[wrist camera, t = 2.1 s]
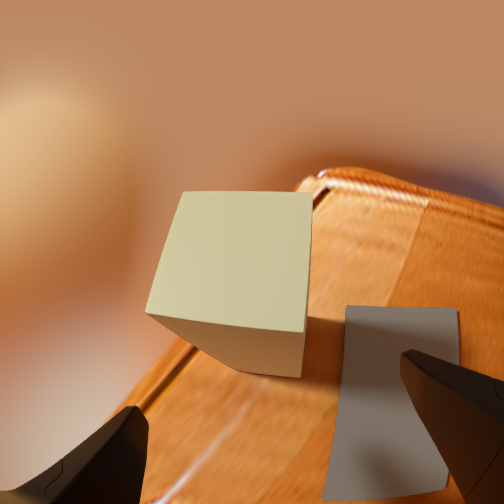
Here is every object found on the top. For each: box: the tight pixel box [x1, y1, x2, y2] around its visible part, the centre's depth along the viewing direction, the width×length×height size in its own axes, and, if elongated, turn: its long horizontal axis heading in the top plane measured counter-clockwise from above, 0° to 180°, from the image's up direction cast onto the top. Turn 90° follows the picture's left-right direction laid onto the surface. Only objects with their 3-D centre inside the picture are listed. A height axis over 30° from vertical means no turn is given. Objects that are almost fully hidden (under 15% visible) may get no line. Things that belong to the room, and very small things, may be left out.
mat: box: [322, 305, 459, 501], centre depth 16 cm, size 14×9×1 cm, turn 172°
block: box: [145, 191, 313, 378], centre depth 14 cm, size 4×4×13 cm
